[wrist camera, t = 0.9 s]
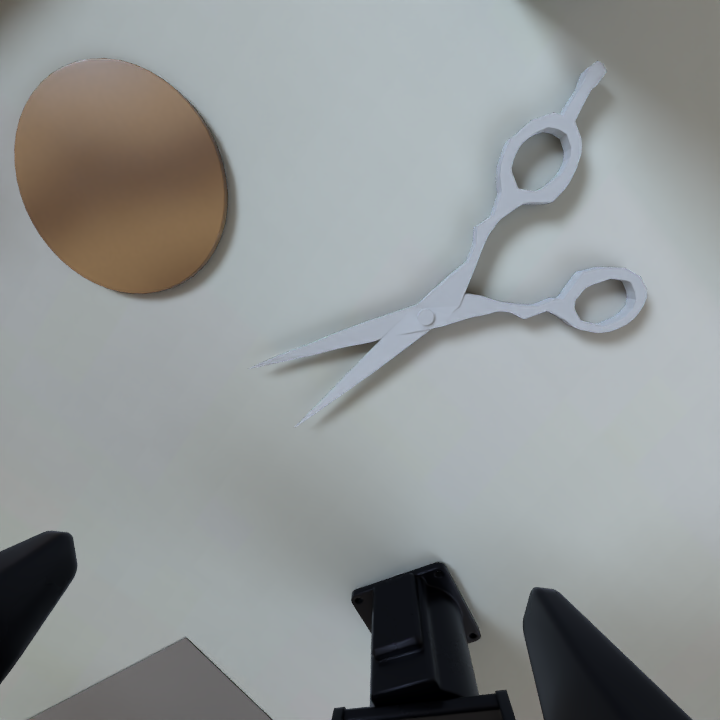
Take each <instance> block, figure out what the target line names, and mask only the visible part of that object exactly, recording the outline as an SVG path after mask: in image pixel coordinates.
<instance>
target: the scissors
mask: <svg viewBox="0 0 720 720" xmlns="http://www.w3.org/2000/svg"><path fill="white" fill-rule="evenodd" d="M606 72H607V70H606V68H605V66H604V64H603V63H601V62H599V61H597V62H595V63H594V64H592V65H591V66H590V67H588V68H587V69H586V70H585V71H584V72H583V73H582V74H580V77H579V80H578V83H577V86H576V88H575V90H574V92H573V95H572V96H571V97H570V99H569V100H568V102H567V103H566V105H565V106H564V108H563V109H562V111H561V113H560V114H557V113H555V112H553V113H550V114H547V115H545V116H542V117H539V118H536V119H533V120H531V121H530V122H528V123H527V124H526V125H525V126H524V127H523V128H522V129H520V130H519V131H518V132H517V133H516V134H515V135H514V136H512V137H511V138H510V139H509V140H508V141H507V142H506V143H505V145H504V148H503V150H502V152H501V155H500V158H499V161H498V164H497V170H496V186H497V193H498V194H497V197H496V200H495V203H494V206H493V209H492V212H491V215H490V216H489V217H488V218H487V219H485V220H484V221H482V222H481V223H480V224H478V225H477V226H475V227H474V232H473V244H472V247H471V249H470V252H469V254H468V257H467V259H466V262H465V263H463V264H462V265H461V266H460V267H458V268H457V269H456V270H455V271H453V272H452V273H451V274H450V275H449V276H447V277H446V278H445V279H444V280H443V281H442V282H441V283H439V284H438V285H437V286H436V287H435V288H434V289H433V290H432V291H431V292H430V293H429V294H427V295H426V296H425V297H424V298H423V299H422V300H421V301H420V302H419V303H418V304H416V305H413V306H410V307H407V308H404V309H401V310H398V311H395V312H392V313H389V314H386V315H383V316H380V317H377V318H374V319H371V320H369V321H366V322H363V323H360V324H357V325H354V326H352V327H349V328H346V329H344V330H341V331H339V332H336V333H333V334H331V335H328V336H326V337H324V338H321V339H319V340H316V341H314V342H311V343H309V344H306V345H304V346H301V347H299V348H296V349H293V350H291V351H288V352H286V353H283V354H280V355H278V356H275V357H273V358H271V359H269V360H266V361H264V362H262V363H260V364H257V365H255V366H253V367H251V368H255V367H260V366H264V365H269V364H273V363H278V362H283V361H287V360H292V359H297V358H301V357H306V356H310V355H315V354H319V353H323V352H327V351H331V350H335V349H339V348H344V347H349V346H354V345H359V344H364V343H369V342H374V341H376V340H379V339H381V340H380V341H379V342H378V343H377V344H376V345H375V346H374V347H373V348H372V349H371V350H370V351H369V352H368V353H367V354H366V355H365V356H364V357H363V358H362V359H361V360H360V361H359V362H358V363H357V364H356V365H355V366H354V367H353V368H352V369H351V370H350V371H349V372H348V373H347V374H346V375H345V376H344V377H343V378H342V379H341V380H340V381H339V382H338V383H337V384H336V385H335V386H334V387H333V388H332V389H331V390H330V391H329V392H328V393H327V394H326V395H325V396H324V397H323V398H322V399H321V401H320V402H319V403H318V404H317V405H316V406H315V407H314V408H313V409H312V410H311V411H310V412H309V413H308V414H307V415H306V416H305V417H304V418H303V419H302V420H301V421H300V422H299V423H298V424H297V425H296V426H298V425H299V424H301V423H302V422H303V421H305V420H306V419H308V418H309V417H311V416H312V415H313V414H315V413H316V412H318V411H319V410H321V409H322V408H323V407H325V406H326V405H328V404H329V403H331V402H332V401H333V400H335V399H336V398H338V397H339V396H341V395H342V394H343V393H345V392H346V391H348V390H349V389H351V388H352V387H353V386H355V385H356V384H358V383H359V382H360V381H362V380H363V379H365V378H366V377H367V376H369V375H370V374H372V373H373V372H375V371H376V370H377V369H379V368H380V367H381V366H383V365H384V364H385V363H387V362H388V361H389V360H391V359H392V358H393V357H395V356H396V355H397V354H399V353H400V352H401V351H403V350H404V349H405V348H407V347H408V346H409V345H411V344H412V343H413V342H415V341H416V340H417V339H419V338H420V337H421V336H423V335H424V334H425V333H427V332H428V331H429V330H430V329H432V328H437V327H442V326H445V325H448V324H452V323H455V322H458V321H461V320H464V319H468V318H471V317H476V316H481V315H485V314H490V313H494V312H497V311H503V312H510V313H512V314H514V315H516V316H518V317H520V318H522V319H526V318H528V317H531V316H534V315H537V314H539V313H542V312H545V311H547V312H549V313H551V314H553V315H555V316H557V317H558V318H560V319H561V320H562V321H563V322H565V323H566V324H567V325H570V326H572V327H574V328H577V329H580V330H584V331H589V332H595V333H602V332H610V331H613V330H615V329H618V328H620V327H622V326H624V325H626V324H628V323H629V322H630V321H632V320H633V319H634V318H635V317H636V316H637V315H638V313H639V312H640V310H641V309H642V307H643V305H644V303H645V301H646V298H647V287H646V286H645V284H644V282H643V280H642V278H641V276H639V275H637V274H636V273H634V272H632V271H630V270H629V269H627V268H621V267H594V268H589V269H585V270H581V271H577V272H575V273H574V275H573V276H572V277H571V279H570V280H569V281H568V283H567V284H566V286H565V287H564V288H563V290H562V291H561V292H560V294H559V295H558V296H557V298H547V299H544V300H542V301H539V302H537V303H535V304H516V303H509V302H502V301H497V300H493V299H490V298H487V297H484V296H481V295H475V294H469V293H465V291H466V289H467V287H468V284H469V282H470V279H471V277H472V274H473V272H474V270H475V267H476V265H477V262H478V260H479V257H480V254H481V252H482V249H483V246H484V244H485V242H486V240H487V238H488V236H489V234H490V233H491V231H492V230H493V228H494V227H495V226H496V224H497V223H498V221H499V220H500V219H501V218H503V217H504V216H506V215H507V214H509V213H510V212H512V211H513V210H514V209H516V208H517V207H519V206H520V205H524V204H548V203H551V202H553V201H554V200H555V199H556V198H557V197H558V196H559V195H560V194H561V193H562V192H563V190H564V189H565V188H566V187H567V186H568V184H569V183H570V181H571V179H572V177H573V175H574V173H575V171H576V169H577V166H578V163H579V159H580V156H581V153H582V140H581V136H580V133H579V131H578V128H577V125H576V123H575V120H576V118H577V116H578V114H579V112H580V110H581V108H582V106H583V105H584V103H585V101H586V99H587V97H588V95H589V93H590V91H591V89H593V88H594V87H595V86H597V84H598V83H599V82H600V80H601V79H602V77H603V76H604V75H605V73H606ZM540 132H544V133H550V134H552V135H554V136H556V137H558V138H559V139H560V142H561V145H562V148H563V151H564V157H563V163H562V165H561V167H560V169H559V171H558V173H557V174H556V175H555V177H554V178H553V179H552V180H551V181H550V182H548V183H547V184H546V185H545V186H543V187H542V188H540V189H538V190H536V191H530V190H524V189H518V187H517V184H516V181H515V179H514V176H513V174H512V171H511V168H512V164H513V161H514V157H515V155H516V153H517V151H518V149H519V147H520V146H521V145H522V144H523V142H524V141H525V140H527V139H528V138H530V137H531V136H534V135H536V134H538V133H540ZM608 279H618V280H620V281H622V283H623V285H624V287H625V290H626V294H627V300H626V303H625V305H624V307H623V308H622V309H621V310H620V311H619V313H618V314H617V315H615V316H613V317H611V318H609V319H607V320H605V321H603V322H600V323H598V324H595V323H590V322H585V321H582V320H580V318H579V316H578V314H577V312H576V311H575V309H574V307H575V300H576V299H577V298H578V296H579V295H580V294H581V293H582V292H583V291H584V289H585V288H586V287H588V286H591V285H593V284H596V283H599V282H602V281H605V280H608ZM249 369H250V368H249ZM296 426H295V427H296ZM295 427H294V428H295Z"/></svg>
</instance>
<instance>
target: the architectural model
mask: <svg viewBox="0 0 720 720" xmlns="http://www.w3.org/2000/svg"><path fill="white" fill-rule="evenodd" d="M28 720H271V719H270V718H269V717H268V716H267V715H266V714H265V713H264V712H263V711H262V710H261V709H260V708H259V707H258V706H257V705H256V704H254V703H253V702H252V701H251V700H250V699H249V698H248V697H247V696H246V695H245V694H244V693H243V692H242V691H241V690H240V689H239V688H238V687H237V686H236V685H235V684H234V683H232V682H231V681H230V680H229V679H228V678H227V677H226V676H225V675H224V674H223V673H222V672H221V671H220V670H219V669H218V668H217V667H216V666H215V665H214V664H213V663H212V662H210V661H209V660H208V659H207V658H206V657H205V656H204V655H203V654H202V653H201V652H200V651H199V650H198V649H197V648H196V647H195V646H194V645H193V644H192V643H191V642H190V641H189V640H187V639H186V638H184V639H182V640H180V641H178V642H177V643H175V644H173V645H171V646H169V647H167V648H165V649H163V650H161V651H159V652H157V653H155V654H153V655H151V656H150V657H148V658H146V659H144V660H142V661H140V662H138V663H136V664H134V665H132V666H130V667H128V668H126V669H124V670H123V671H121V672H119V673H117V674H115V675H113V676H111V677H109V678H107V679H105V680H103V681H101V682H99V683H97V684H96V685H94V686H92V687H90V688H88V689H86V690H84V691H82V692H80V693H78V694H76V695H74V696H72V697H71V698H69V699H67V700H65V701H63V702H61V703H59V704H57V705H55V706H53V707H51V708H49V709H47V710H45V711H44V712H42V713H40V714H38V715H36V716H34V717H32V718H30V719H28Z"/></svg>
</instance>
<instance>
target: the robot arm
mask: <svg viewBox="0 0 720 720" xmlns="http://www.w3.org/2000/svg"><path fill="white" fill-rule="evenodd" d="M76 571H77V559H76V553H75V547H74V541H73V537H72V535H71V534H70V533H67V532H59V531H46V532H43V533H41V534H39V535H36V536H34V537H32V538H30V539H27V540H25V541H23V542H21V543H18V544H16V545H14V546H12V547H9V548H7V549H5V550H3V551H1V552H0V684H1V683H2V681H3V680H4V679H5V677H6V676H7V675H8V673H9V672H10V671H11V669H12V668H13V666H14V665H15V664H16V662H17V661H18V659H19V658H20V657H21V655H22V654H23V652H24V651H25V649H26V648H27V646H28V645H29V644H30V642H31V641H32V639H33V638H34V636H35V635H36V633H37V632H38V630H39V629H40V627H41V626H42V624H43V623H44V621H45V620H46V618H47V617H48V615H49V614H50V613H51V611H52V610H53V608H54V607H55V605H56V604H57V602H58V601H59V599H60V598H61V596H62V595H63V593H64V592H65V590H66V589H67V587H68V586H69V584H70V583H71V582H72V580H73V578H74V576H75V574H76ZM437 571H440V572H437ZM351 601H352V604H353V605H354V607H355V608H356V610H357V612H358V613H359V615H360V616H361V618H362V619H363V621H364V623H365V624H366V626H367V627H368V629H369V630H370V632H371V634H372V639H371V680H370V707H362V708H353V709H346V708H345V707H340V708H334V711H333V716H332V720H516V719H515V716H514V713H513V710H512V707H511V703H510V700H509V697H508V694H507V691H506V690H500V691H495V692H496V693H495V694H486V695H479V693H478V688H477V684H476V679H475V675H474V670H473V666H472V661H471V657H470V652H469V648H468V643H471V642H475V641H477V640H479V639H480V637H481V635H480V631H479V628H478V626H477V624H476V622H475V620H474V618H473V616H472V614H471V612H470V611H469V609H468V607H467V605H466V603H465V601H464V599H463V597H462V595H461V594H460V592H459V590H458V588H457V586H456V584H455V582H454V580H453V578H452V577H451V575H450V573H449V571H448V569H447V567H446V566H445V564H443V563H440V562H437V563H433V564H430V565H427V566H424V567H421V568H418V569H415V570H412V571H409V572H406V573H403V574H400V575H397V576H395V577H392V578H389V579H386V580H383V581H380V582H377V583H374V584H371V585H368V586H365V587H362V588H359V589H356V590H354V591H353V592H352V598H351ZM523 632H524V637H525V641H526V645H527V650H528V654H529V658H530V662H531V666H532V671H533V675H534V679H535V683H536V688H537V692H538V696H539V700H540V704H541V709H542V713H543V717H544V720H692V719H691V718H690V717H689V716H688V715H687V714H686V713H685V712H684V711H683V710H682V709H681V708H680V707H679V706H678V705H677V704H676V703H674V702H673V701H672V700H671V699H670V698H669V697H668V696H667V695H666V694H665V693H664V692H663V691H662V690H661V689H660V688H659V687H658V686H657V685H656V684H655V683H654V682H653V681H651V680H650V679H649V678H648V677H647V676H646V675H645V674H644V673H643V672H642V671H641V670H640V669H639V668H638V667H637V666H636V665H635V664H634V663H633V662H632V661H631V660H630V659H628V658H627V657H626V656H625V655H624V654H623V653H622V652H621V651H620V650H619V649H618V648H617V647H616V646H615V645H614V644H613V643H612V642H611V641H610V640H609V639H608V638H607V637H605V636H604V635H603V634H602V633H601V632H600V631H599V630H598V629H597V628H596V627H595V626H594V625H593V624H592V623H591V622H590V621H589V620H588V619H587V618H586V617H585V616H584V615H582V614H581V613H580V612H579V611H578V610H577V609H576V608H575V607H574V606H573V605H572V604H571V603H570V602H569V601H568V600H567V599H566V598H565V597H564V596H563V595H562V594H560V593H559V592H558V591H556V590H554V589H548V588H540V587H535V588H533V589H532V590H531V593H530V596H529V599H528V603H527V607H526V610H525V614H524V618H523Z"/></svg>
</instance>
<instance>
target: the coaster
mask: <svg viewBox="0 0 720 720" xmlns="http://www.w3.org/2000/svg"><path fill="white" fill-rule="evenodd" d="M14 151H15V170H16V177H17V182H18V186H19V190H20V194H21V197H22V200H23V203H24V205H25V208H26V210H27V212H28V214H29V217H30V219H31V221H32V223H33V224H34V226H35V228H36V229H37V231H38V233H39V234H40V236H41V237H42V238H43V240H44V241H45V242H46V244H47V245H48V246H49V248H50V249H51V250H52V251H53V252H54V253H55V254H56V255H57V256H58V257H59V258H60V259H61V260H62V261H63V262H64V263H65V264H66V265H68V266H69V267H70V268H71V269H73V270H74V271H75V272H77V273H78V274H80V275H81V276H83V277H84V278H86V279H88V280H90V281H92V282H94V283H96V284H98V285H101V286H103V287H106V288H108V289H112V290H116V291H119V292H126V293H135V294H145V293H153V292H159V291H163V290H167V289H170V288H173V287H175V286H177V285H180V284H182V283H184V282H185V281H187V280H188V279H190V278H191V277H193V276H194V275H195V274H196V273H197V272H198V271H199V270H201V269H202V268H203V266H204V265H205V264H206V263H207V262H208V260H209V259H210V258H211V256H212V254H213V253H214V251H215V249H216V248H217V245H218V243H219V241H220V238H221V236H222V232H223V229H224V225H225V221H226V214H227V198H228V192H227V182H226V175H225V171H224V166H223V162H222V159H221V156H220V153H219V150H218V147H217V145H216V143H215V141H214V138H213V136H212V134H211V132H210V130H209V129H208V127H207V125H206V124H205V122H204V120H203V119H202V117H201V116H200V115H199V113H198V112H197V111H196V110H195V108H194V107H193V106H192V105H191V103H190V102H189V101H188V100H187V99H186V98H185V97H184V96H183V95H182V94H181V93H180V92H178V91H177V90H176V89H175V88H173V87H172V86H171V85H170V84H168V83H167V82H166V81H165V80H163V79H162V78H160V77H159V76H157V75H155V74H154V73H152V72H150V71H149V70H146V69H144V68H142V67H140V66H137V65H135V64H132V63H128V62H125V61H121V60H115V59H107V58H95V59H86V60H81V61H76V62H73V63H71V64H68V65H66V66H63V67H61V68H60V69H58V70H56V71H55V72H53V73H52V74H50V75H49V76H48V77H47V78H46V79H45V80H43V81H42V82H41V83H40V84H39V86H38V87H37V88H36V89H35V90H34V92H33V93H32V94H31V96H30V98H29V100H28V101H27V103H26V105H25V107H24V109H23V112H22V114H21V117H20V119H19V123H18V128H17V132H16V139H15V149H14Z"/></svg>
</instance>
